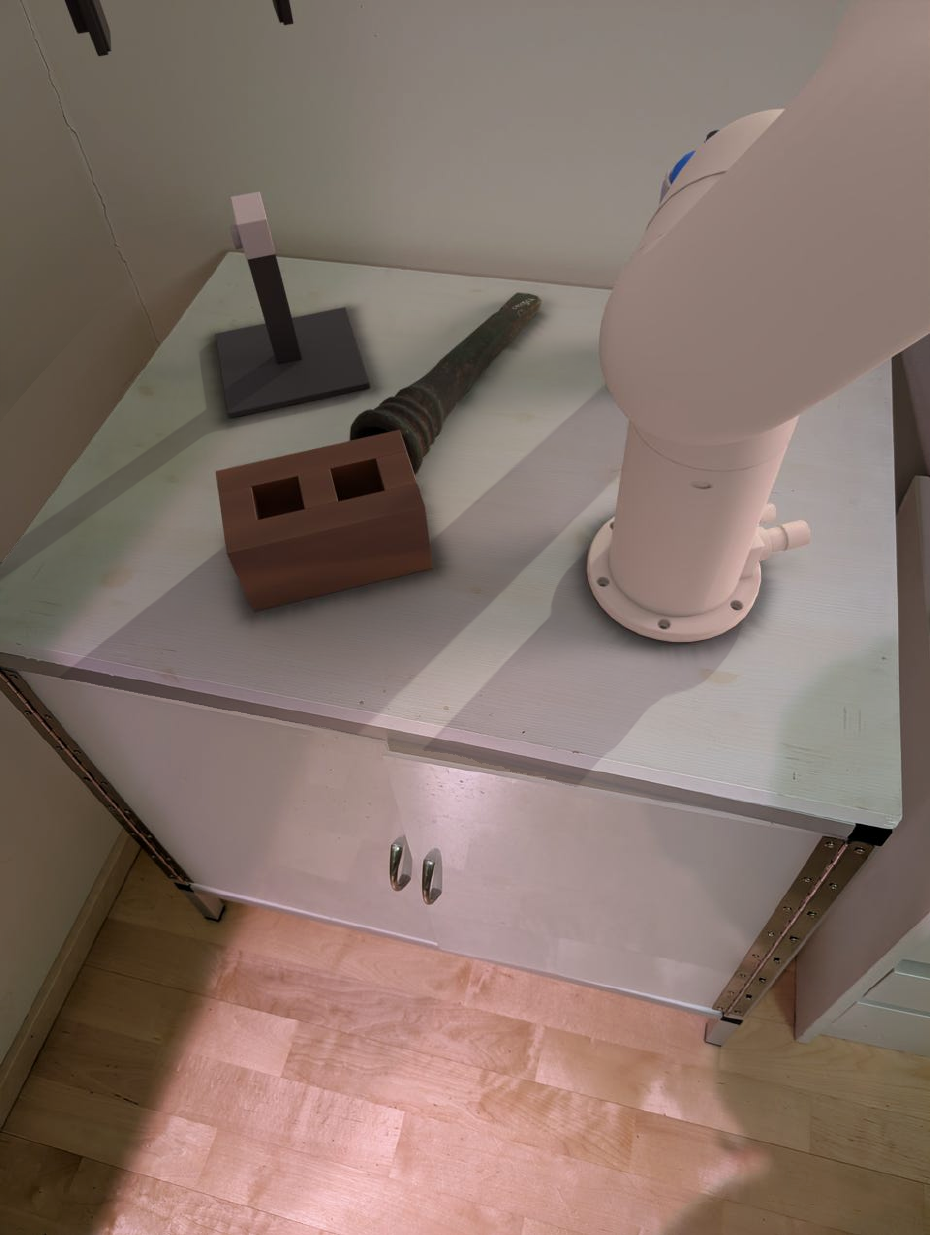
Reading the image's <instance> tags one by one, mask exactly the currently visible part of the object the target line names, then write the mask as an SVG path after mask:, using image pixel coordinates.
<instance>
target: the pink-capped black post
mask: <svg viewBox="0 0 930 1235" xmlns="http://www.w3.org/2000/svg"><path fill="white" fill-rule="evenodd" d="M230 202H231V206H232V211H233V215H234V220H235V223H234V224H230V225H229V231H230V235H231V238H232V241H233V245H234V248H235V250H241V249H243V253H244V257H245V260H246V261H247V264H248V268H249V272H250V276H251V279H252V281H253V285H254V289H255V292H256V296H257V299H258V302H259V306H260V309H261V313H262V317H263V320H264V324H266V327H267V331H268V334H269V338H270V341H271V345H272V348H273V351H274V355H275V358H276V362H277V364H282V363H287V362H292V361H296V360H301V359H302V355H301V351H300V347H299V343H298V340H297V336H296V332H295V328H294V324H293V320H292V318H293V316H292V313H291V312H292V311H291V309H290V304H289V302H288V296H287V293H286V288H285V285H284V282H283V278H282V274H281V273H282V272H281V269H280V266H279V261H278V258H277V254H276V251H275V246H274V242H273V238H272V234H271V230H270V225H269V222H268V218H267V215H266V211H265V206H264V203H263V199H262V195H261V191H254V192H249V193H244V194H239V195H234V196H230Z"/></svg>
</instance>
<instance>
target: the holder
mask: <svg viewBox="0 0 930 1235" xmlns="http://www.w3.org/2000/svg"><path fill="white" fill-rule="evenodd" d="M215 478H216V479H215V480H216V486H217V487H216V488H217V493H218V494H217V495H218V501H219V509H220V516H221V524H222V528H223V529H222V531H223V537H224V538H223V539H224V545H225V553H226V556H227V558H228V560H229V562H230V564H231V567H232V569H233V571H234V573H235V576H236V578H237V580H238V582H239V584H240V586H241V589H242V591H243V593H244V595H245V598H246V600H247V603H248V604H249V607H250V609H251V611H252V612H253V613H254V612H258V611H262V610H266V609H271V608H274V607H278V606H283V605H287V604H291V603H295V602H299V601H303V600H308V599H311V598H317V597H320V596H323V595H328V594H332V593H336V592H340V591H344V590H348V589H353V588H356V587H361V586H365V585H369V584H373V583H377V582H381V581H385V580H390V579H393V578H398V577H402V576H406V575H410V574H415V573H418V572H422V571H427V570H431V569H433V568H434V563H433V556H432V549H431V548H432V547H431V541H430V532H429V527H428V518H427V512H426V505H425V502H424V499H423V496H422V493H421V490H420V487H419V484H418V481H417V478H416V475H414V472H413V468H412V465H411V462H410V459H409V456H408V453H407V450H406V447H405V444H404V441H403V438H402V435H401V432H400V430H396V431H392V432H388V433H383V434H379V435H374V436H370V437H365V438H361V439H356V440H352V441H350V440H348V441H344V442H339V443H335V444H331V445H326V446H321V447H317V448H312V449H309V450H303V451H299V452H294V453H290V454H286V455H281V456H276V457H272V458H267V459H262V460H258V461H254V462H250V463H249V462H248V463H245V464H241V465H237V466H232V467H231V466H230V467H227V468H223V469H218V470H215Z"/></svg>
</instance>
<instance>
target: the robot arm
mask: <svg viewBox="0 0 930 1235" xmlns="http://www.w3.org/2000/svg"><path fill="white" fill-rule="evenodd" d="M271 2H272V5H273V8H274V11H275V14H276V16H277V19H278V22H279V24H283V26H290V25H294V18H293V12H292V7H291V1H290V0H272V1H271ZM64 4H65V5H66V8H67V11H68V14H69V16H70V19H71V22H72V24H73V27H74V30H75V31H76V33H77V35H80V34H86V33H88V34H89V36H90V39H91V42H92V45H93V47H94V49H95V53H96V55H97V57H105V56H108V55H109V53H110V52H112V38H111V36H112V35H111V30H110V26H109V23H108V21H107V20H108V19H107V18H106V15H105V13H104V9H103V6H102V4H101V0H64ZM718 130H719V131H718V132H717V133H716V134H714V135H713V136H712V137H711V138H709V139H708V140H707V141H706V140H705V141H706V142H705V143H704V142H703V144H702V145H701V146H699V147H698V148H697V149H696V150H697V151H696V152H695V153H694V154H693V156H692V157H691V158H690V159H689V160H688V162H687V163H686V164H685V166H684V167H683V168H682V169H681V171H680V172H679V174H678V175H677V177H676V179H675V180H674V182H673V183H672V185H671V186H670V188H669V190H668V192H667V193H666V195H665V196H664V198H663V200H662V201H661V203H660V202H659V203H660V205H659V204H658V206H657V208H656V210H655V212H654V214H653V215H652V217H651V219H650V220H649V221H648V224H647V226H646V228H645V231H644V233H643V235H642V237H641V239H640V240H639V242H638V244H637V246H636V247H635V249H634V251H633V252H632V254H631V256H630V257H629V259H628V260H627V263H626V265H625V266H624V268H623V270H622V271H621V273H620V275H619V276H618V278H617V279H616V282H615V284H614V286H613V288H612V290H611V292H610V294H609V297H608V298H607V302H606V304H605V307H604V309H603V314H602V318H601V323H600V328H599V337H598V347H599V348H598V354H599V363H600V367H601V373H602V375H603V379H604V382H605V385H606V387H607V389H608V392H609V393H610V396H611V398H612V399H613V401H614V403H615V404H616V406H617V407H618V408H619V410H620V411H621V412H622V413H623V414H624V415H625V417H626V418H627V419H628V422H627V423H628V424H627V430H626V437H625V443H624V450H623V458H622V463H621V464H622V465H621V472H620V478H619V484H618V485H619V486H618V493H617V498H616V506H615V512H614V515H613V516H612V517H611V518H610V519H609V520H607V521H606V522H605V523H604V524H603V525H602V526H601V527H600V529H599V530H598V531H597V532H596V533H595V535H594V537H593V539H592V541H591V543H590V546H589V549H588V554H587V561H586V563H587V564H586V574H587V580H588V581H587V582H588V585H589V587H590V590H591V593H592V595H593V596H594V598H595V599H596V601H597V603H598V604H599V606H600V607H601V609H603V610H604V611H605V612H606V613H607V614H608V616H610V618H612V619H613V620H614V621H616V622H617V623H619V624H620V625H621V626H622V627H624V628H625V629H628V630H631V631H632V632H634V633H636V634H638V635H641V636H644V637H647V638H650V639H653V640H657V641H663V642H672V643H693V642H698V641H703V640H709V639H711V638H714V637H716V636H719V635H720V636H721V635H722V634H724V633H726V632H727V631H730V630H731V629H732V628H734V627H736V626H737V625H738V624H739V623H740V622H741V621H742V620H743V619H744V618H746V617H747V615H748V613H749V612H750V611H751V609H752V607H753V606H754V604H755V601H756V599H757V597H758V594H759V592H760V587H761V582H762V571H761V563H760V562H762V561H766V560H769V559H770V557H771V555H772V554H773V553H777V552H780V551H783V552H786V551H789V550H794V549H797V548H802V547H804V546H807V545H809V544H810V542H811V530H810V527H809V525H808V524H807V522H806V521H804V520H803V519H798V520H794V521H790V522H786V523H782V524H777V525H776V526H774V527H771V528H767V529H766V528H764V527H763V526H760V525H763V524H768V523H771V522H775V521H776V520H777V516H778V515H777V514H778V513H777V509H776V506H775V504H773V503H772V502H768V501H769V498H770V495H771V492H772V490H773V487H774V484H775V481H776V479H777V476H778V473H779V470H780V468H781V465H782V463H783V459H784V457H785V454H786V451H787V448H788V446H789V443H790V441H791V439H792V437H793V433H794V431H795V428H796V425H797V423H798V420H799V418H800V415H802V414H803V413H805V412H806V411H808V410H810V409H811V408H813V407H815V406H816V405H817V404H819V403H821V402H823V401H824V400H826V399H828V398H829V397H831V396H832V395H834V394H835V393H837V392H839V391H841V390H842V389H843V388H845V387H847V386H848V385H850V384H851V383H853V382H855V381H856V380H858V379H860V378H862V377H863V376H864V375H866V374H868V373H869V372H871V371H872V370H874V369H876V368H878V367H879V366H880V365H882V364H884V363H885V362H887V361H888V360H890V359H891V358H893V357H894V356H896V355H898V354H899V353H901V352H903V351H904V350H905V349H907V348H909V347H910V346H912V345H913V344H915V343H917V342H918V341H920V340H921V339H923V338H925V337H926V336H927V335H929V334H930V0H851V2H850V4H849V6H848V7H847V8H846V10H845V12H844V14H843V16H842V18H841V20H840V22H839V24H838V26H837V28H836V30H835V32H834V34H833V37H832V38H831V41H830V43H829V45H828V47H827V49H826V51H825V52H824V54H823V57H822V58H821V61H820V63H819V64H818V68H817V69H816V71H815V72H814V73H813V74H812V76H811V78H810V79H809V80H808V81H807V83H805V85H804V87H803V88H802V89H801V91H799V93H798V94H797V95H796V96H795V97H794V99H792V101H791V102H790V103H789V104H788V105H787V106H786V107H785V108H777V109H775V108H774V109H766V110H762V111H759V112H758V111H757V112H754V113H751V114H748V115H745V116H742V117H740V118H738V119H736V120H734V121H732V122H730V123H729V124H727V125H726V126H724V127H722V128H721V129H718Z"/></svg>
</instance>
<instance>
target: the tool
mask: <svg viewBox="0 0 930 1235" xmlns="http://www.w3.org/2000/svg"><path fill="white" fill-rule="evenodd" d="M541 305H542V299H541V298H540V297H539V296H538V295H536V294H532V293H527V292H516V293H515V294H513V295H512V296H511V297H510V298H509V299H508V300H507V301H506V302H505V303H504V304H503V305H502V306H501V307H500V308H499V310H498V311H496V312H494V313H493V314H492V315H491V316H489V317H487V319H486V320H485V321H483V323H481V324H480V325H479V326H478V327H477V328H476V329H475V330H473V331H472V332H470V334H468V335H467V336H466V337H465V338H464V339H463V340H462V341H460V342H459V343H458V344H457V345H456V346H455V347H453V348H452V349H451V350H450V351H449V352H448V353H447V354H445V355H444V356H443V357H442V358H441V359H439V361H438V362H437V363H436V364H435V365H434V366H433V367H432V368H431V369H430V370H429V371H428V372H426V373H425V375H423V376H422V377H421V378H419V379H418V380H416V381H415V382H413V383H411V384H410V385H407V386H406V387H403V388H401V389H399V390H398V391H397V393H396V394H395V395H394V396H389V397H387V398H385V399H384V400H382V401H381V402H380V403H379V405H378V406H376V407H375V408H373V409H372V408H369V409H366V410H364V411H362V412H361V413H359V414H358V415H357V416H356V417H355V419H354V420H353V421H352V423H351V425H350V430H349V441H352V440H356V439H361V438H365V437H370V436H374V435H379V434H383V433H388V432H392V431H396V430H400V432H401V435H402V438H403V441H404V444H405V447H406V450H407V453H408V456H409V459H410V462H411V465H412V468H413V472H414V475H415V476H416V475H417V474H418V473H419V471H420V469H421V466H422V464H423V462H424V458H425V457H427V455H428V454H429V453H430V451H431V446H432V445H433V444H434V443H435V441H436V438H437V437H438V436H439V435H440V434H441V432H442V429H443V425H444V423H445V422H446V419H448V416H449V415H450V414H451V413H452V412H453V410H454V409H455V408H456V406H457V405H458V404H459V402H460V401H461V400H462V399H463V398H464V397H465V396H466V395H467V394H468V393H469V392H470V391H471V389H472V388H473V387H474V385H475V384H476V383H477V381H478V380H479V379H480V377H481V376H482V375H483V374H484V372H485V370H487V368H489V366H490V365H491V363H492V362H493V361H494V360H495V359H496V358H497V356H499V354H500V353H501V352H502V351H503V350H504V349H505V348H506V347H507V346H508V345H509V344H510V343H511V341H513V339H514V338H515V337H516V336H518V334H519V333H520V332H521V331H522V329H523V328H524V327H525V326H526V325H527V324H528V323H529V322H530V321H531V319H532V318H533V317H534V315H535V314H536V313H537V312H538V311H539V309H540V307H541Z"/></svg>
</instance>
